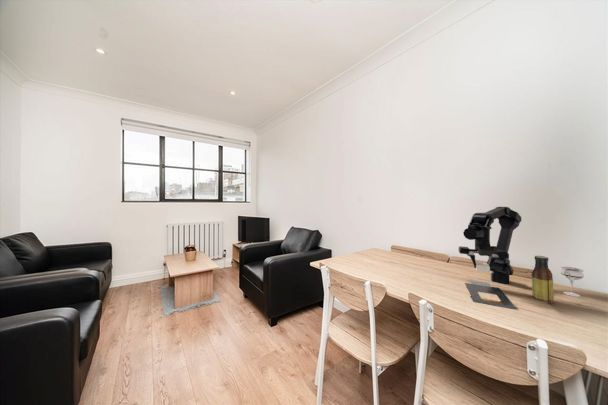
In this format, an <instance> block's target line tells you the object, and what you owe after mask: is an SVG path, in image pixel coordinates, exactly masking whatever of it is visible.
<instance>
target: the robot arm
mask: <svg viewBox="0 0 608 405" xmlns="http://www.w3.org/2000/svg"><path fill="white" fill-rule="evenodd" d="M496 219H497V220H498V224H499V225H500V230H499V235H498V240H497V242H496V246H495V245H491V239H490V238H491V235H490V234H491V230H492V229H493V228H492V226H491V225H492V224H493V223H494V222H495V221H494V220H496ZM521 222H522V216H521V215H520V213H519V212H517V211H515V210H513V209H511V208H510V207H509V206H496V207H495V208H493V209H490V210H488V211H485V212H475V213H474V214H472V216H471V218H470V220H469V222H468V225H467V228H465V229H464V230H463V236H464V238H465V239H467V240H471V241H472V240H474V248H469V247H468V246H458V253H459V254H461V255H467V256H468V257H470V259H471V263H472V265H473V267H474V269H475V268H476V255H475V254H478V256H481V257H485V256H486V257H488V259H487V262H486V263H487V264H488V265H489V266H490V272H491V273H490V280H491V282H493V283H497V284H502V285H510V276H513V274H514V268H513V267H512V266H511V260H510V254H509V251H510V250H509V249H510V245H511V242H512V237H513V233H514V230H515V229H517V228H519V226H520V223H521Z"/></svg>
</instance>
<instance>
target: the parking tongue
mask: <svg viewBox="0 0 608 405" xmlns="http://www.w3.org/2000/svg"><path fill="white" fill-rule="evenodd" d="M469 282H470V284H477V285H483V286H490V287H491V284H490V283H489V282H486V281H479V280H473V279H472V280H471V279H469Z"/></svg>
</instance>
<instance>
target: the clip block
mask: <svg viewBox="0 0 608 405" xmlns="http://www.w3.org/2000/svg"><path fill="white" fill-rule="evenodd" d="M475 262H476V261H475ZM474 269H475V270H476V271H477V272H484V273H485V272H486V273H490V272H491V271H490V266H489V265H488V264H487V262H486V263H485V262H478V261H477V262H476V268H475V267H474Z"/></svg>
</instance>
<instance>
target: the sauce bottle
mask: <svg viewBox="0 0 608 405" xmlns="http://www.w3.org/2000/svg"><path fill="white" fill-rule="evenodd" d="M534 262H535V264H534V268H533V270H532V272H531V287H532V297H533V298H534V299H535V300H538V301H541V302H542V301H543V302H545V303H547V304H548V305H549V304H551V305H552V304H553V303H554V302H555V301H554V300H555V298H554V296H555V295H554V280H553V278H554V277H553V273H552V270H550V268H549V257H548V256H543V255H534Z"/></svg>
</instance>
